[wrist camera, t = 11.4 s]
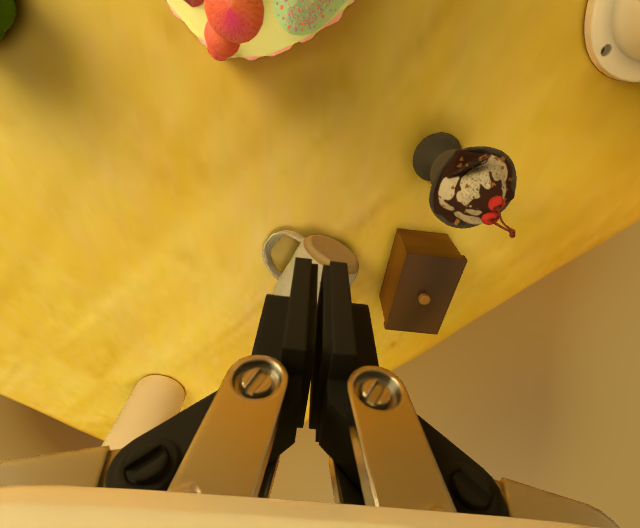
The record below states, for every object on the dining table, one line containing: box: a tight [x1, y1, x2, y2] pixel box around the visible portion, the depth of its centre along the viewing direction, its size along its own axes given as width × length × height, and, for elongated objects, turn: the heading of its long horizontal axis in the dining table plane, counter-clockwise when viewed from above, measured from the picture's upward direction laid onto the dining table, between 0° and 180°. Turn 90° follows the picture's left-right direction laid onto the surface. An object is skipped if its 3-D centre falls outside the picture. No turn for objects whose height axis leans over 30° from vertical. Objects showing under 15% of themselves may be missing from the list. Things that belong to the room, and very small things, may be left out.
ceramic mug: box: [262, 230, 359, 302], centre depth 38 cm, size 11×8×8 cm
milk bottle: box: [101, 375, 185, 450], centre depth 47 cm, size 8×8×20 cm
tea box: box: [379, 229, 467, 334], centre depth 39 cm, size 6×10×7 cm, turn 173°
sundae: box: [413, 133, 517, 238], centre depth 29 cm, size 7×7×15 cm
